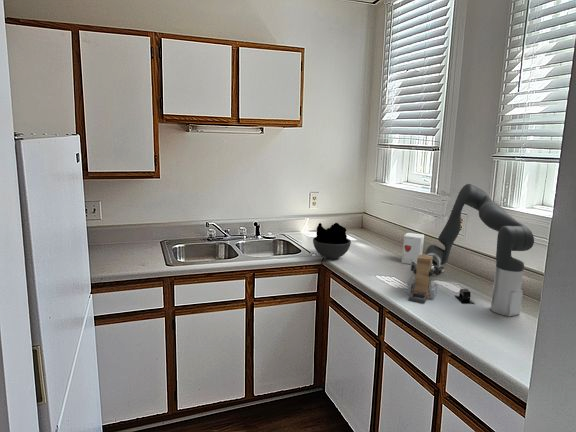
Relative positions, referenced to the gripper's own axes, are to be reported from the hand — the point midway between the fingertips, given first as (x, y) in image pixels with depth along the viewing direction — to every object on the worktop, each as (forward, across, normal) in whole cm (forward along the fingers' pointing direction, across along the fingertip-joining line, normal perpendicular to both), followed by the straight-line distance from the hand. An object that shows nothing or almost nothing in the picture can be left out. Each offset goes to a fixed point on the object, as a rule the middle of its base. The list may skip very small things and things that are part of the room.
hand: (422, 273), depth 172 cm
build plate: (-7, +16, +11) cm, 21 cm away
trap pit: (+4, 0, +10) cm, 11 cm away
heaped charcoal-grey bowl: (-31, -53, +10) cm, 63 cm away
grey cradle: (-4, 0, +10) cm, 11 cm away
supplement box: (-49, -15, +11) cm, 53 cm away
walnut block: (-3, 0, +8) cm, 8 cm away
